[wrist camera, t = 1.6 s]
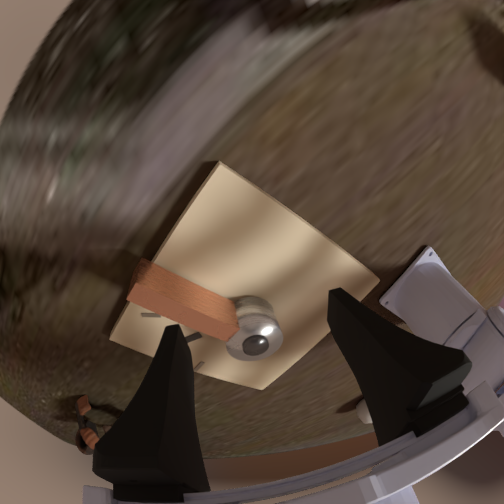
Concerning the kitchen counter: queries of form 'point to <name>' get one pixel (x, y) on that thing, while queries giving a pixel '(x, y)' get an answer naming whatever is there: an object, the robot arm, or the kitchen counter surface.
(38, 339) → the kitchen counter surface
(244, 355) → the copper brown lever handle
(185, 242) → the board
